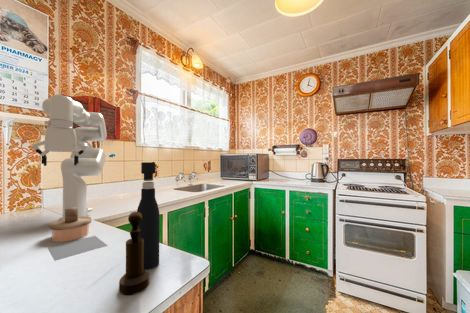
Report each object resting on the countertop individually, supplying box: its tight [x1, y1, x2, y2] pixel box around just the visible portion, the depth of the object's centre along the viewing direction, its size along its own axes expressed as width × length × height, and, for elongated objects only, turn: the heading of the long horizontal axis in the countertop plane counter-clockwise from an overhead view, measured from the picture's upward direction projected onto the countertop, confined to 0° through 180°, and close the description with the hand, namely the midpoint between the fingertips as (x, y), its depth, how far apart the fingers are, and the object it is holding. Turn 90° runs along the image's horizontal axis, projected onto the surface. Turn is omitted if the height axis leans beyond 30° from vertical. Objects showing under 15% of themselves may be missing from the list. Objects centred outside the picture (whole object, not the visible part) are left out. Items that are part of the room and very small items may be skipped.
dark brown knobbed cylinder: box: [118, 211, 150, 296], centre depth 49 cm, size 7×6×18 cm
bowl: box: [51, 223, 90, 243], centre depth 80 cm, size 11×11×5 cm
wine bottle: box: [136, 161, 161, 271], centre depth 59 cm, size 6×6×30 cm
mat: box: [47, 235, 108, 261], centre depth 70 cm, size 14×14×1 cm
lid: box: [48, 208, 92, 231], centre depth 80 cm, size 13×13×6 cm
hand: (60, 165), depth 85 cm, fingers open, 9 cm apart
